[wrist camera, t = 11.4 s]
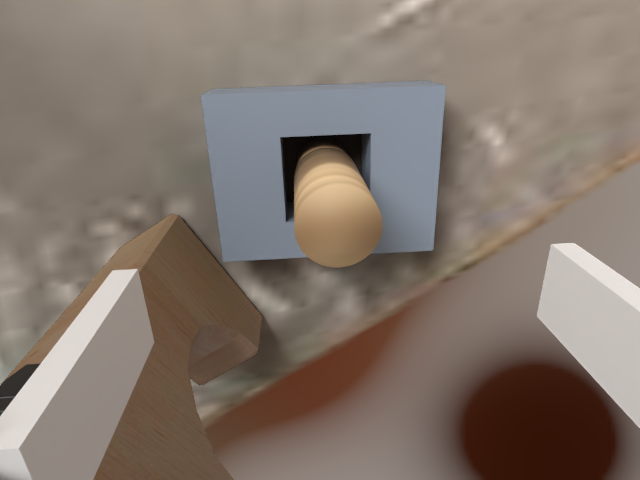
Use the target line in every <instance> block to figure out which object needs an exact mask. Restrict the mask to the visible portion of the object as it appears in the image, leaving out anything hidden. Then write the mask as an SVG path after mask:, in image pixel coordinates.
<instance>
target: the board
mask: <svg viewBox="0 0 640 480" xmlns="http://www.w3.org/2000/svg"><path fill="white" fill-rule="evenodd" d="M445 89H446V85H443V84H439V83H435V82H430V81H403V82H378V83H353V84H327V85H302V86H276V87H251V88H225V89H212V90H210V91H208V92H206V93H204V94H202V95H201V101H202V109H203V116H204V123H205V131H206V138H207V146H208V153H209V161H210V168H211V176H212V183H213V190H214V198H215V205H216V213H217V220H218V228H219V235H220V242H221V250H222V257H223V262H231V261H249V260H268V259H287V258H305V257H307V256H306V255H305V254H304V253H303V252H302V250H301V249H300V247H299V245H298V243H297V241H296V237H295V231H294V202H288V203H287V197H286V182H285V167H284V152H283V137H298V136H321V135H343V134H361V176H362V178H363V180H364V182H365V184H366V185H367V187H368V189H369V191H370V193H371V195H372V197H373V198H374V200H375V202H376V204H377V206H378V208H379V210H380V213H381V216H382V224H383V226H382V233H381V237H380V240H379V242H378V244H377V246H376V247H375V249H374V250H373V251H372V252H371V253H370V254H380V253H398V252H417V251H433V247H434V234H435V221H436V208H437V195H438V181H439V168H440V155H441V142H442V129H443V116H444V102H445Z"/></svg>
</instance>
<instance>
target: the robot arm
mask: <svg viewBox="0 0 640 480" xmlns="http://www.w3.org/2000/svg"><path fill="white" fill-rule="evenodd" d="M537 317H538V318H539V319H540V320H541V321H542V322H543V323H544V324H545V326H546V327H547V328H548V329H549V330H550V331H551V332H552V333H553V334H554V335H555V336H556V338H557V339H558V340H559V341H560V342H561V343H562V344H563V345H564V346H565V347H566V349H567V350H568V351H569V352H570V353H571V354H572V355H573V356H574V357H575V358H576V359H577V361H578V362H579V363H580V364H581V365H582V366H583V367H584V368H585V369H586V370H587V371H588V373H589V374H590V375H591V376H592V377H593V378H594V379H595V380H596V381H597V382H598V383H599V384H600V385H601V387H602V388H603V389H604V390H605V391H606V392H607V393H608V394H609V395H610V396H611V398H612V399H613V400H614V401H615V402H616V403H617V404H618V405H619V406H620V407H621V408H622V410H623V411H624V412H625V413H626V414H627V415H628V416H629V417H630V418H631V419H632V420H633V422H634V423H635V424H636V425H637V426H638V427H639V428H640V288H638V287H637V286H635V285H634V284H633V283H631V282H630V281H628V280H627V279H625V278H624V277H622V276H621V275H620V274H618V273H617V272H615V271H614V270H612V269H611V268H609V267H608V266H607V265H605V264H604V263H602V262H601V261H599V260H598V259H597V258H595V257H594V256H592V255H591V254H589V253H588V252H586V251H585V250H584V249H582V248H581V247H579V246H578V245H576V244H575V243H564V244H551V247H550V252H549V257H548V262H547V267H546V272H545V277H544V282H543V287H542V292H541V297H540V302H539V307H538V313H537ZM153 344H154V338H153V334H152V329H151V325H150V320H149V316H148V312H147V307H146V303H145V298H144V294H143V290H142V285H141V281H140V276H139V272H138V269H128V270H112V272H111V273H110V274H109V276H108V277H107V278H106V280H105V281H104V282H103V283H102V285H101V286H100V287H99V289H98V290H97V291H96V293H95V294H94V295H93V296H92V298H91V299H90V300H89V302H88V303H87V304H86V305H85V307H84V308H83V309H82V311H81V312H80V313H79V315H78V316H77V317H76V318H75V320H74V321H73V322H72V324H71V325H70V326H69V328H68V329H67V330H66V331H65V333H64V334H63V335H62V337H61V338H60V339H59V341H58V342H57V343H56V344H55V346H54V347H53V348H52V350H51V351H50V352H49V354H48V355H47V356H46V357H45V359H44V360H43V361H42V363H40V364H26V365H25V366H24V367H22V368H21V369H19V370H18V371H17V372H15V373H14V374H13V375H11V376H10V377H8V378H7V379H6V380H5V381H4V382H3V383H2V384H1V386H0V480H93V479H94V477H95V474H96V472H97V470H98V468H99V465H100V463H101V461H102V459H103V456H104V454H105V452H106V450H107V447H108V445H109V443H110V441H111V438H112V436H113V434H114V432H115V429H116V427H117V425H118V423H119V420H120V418H121V416H122V414H123V411H124V409H125V407H126V405H127V402H128V400H129V398H130V396H131V393H132V391H133V389H134V387H135V384H136V382H137V380H138V378H139V375H140V373H141V371H142V369H143V367H144V364H145V362H146V360H147V358H148V355H149V353H150V351H151V349H152V346H153Z"/></svg>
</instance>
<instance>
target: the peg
mask: <svg viewBox="0 0 640 480" xmlns="http://www.w3.org/2000/svg"><path fill="white" fill-rule="evenodd" d="M382 226H383V224H382V216H381V213H380V210H379V208H378V206H377V204H376V202H375V200H374V198H373V197H372V195H371V193H370V191H369V189H368V187H367V185H366V184H365V182H364V180H363V178H362V176H361V174H360V172H359V171H358V169H357V167H356V165H355V163H354V161H353V160H352V159H351V158H350V157H349V156H348V155H347V153H346V151H345V149H344V148H343V147H342V146H341V145H340V144H339V143H338V142H336V141H335V140H332V139H329V138H316V139H313V140H311V141H309V142H308V143H306V144H305V145H304V146H303V147H302V148H301V150H300V151H299V153H298V156H297V159H296V170H295V174H294V231H295V237H296V241H297V243H298V245H299V247H300V249H301V250H302V252H303V253H304V254H305V255H306V256H307V257H308V258H310V259H311V260H312V261H314V262H316V263H318V264H320V265H323V266H327V267H334V268H340V267H347V266H351V265H353V264H356V263H358V262H360V261H362V260H363V259H365V258H366V257H367V256H368V255H370V253H371V252H372V251H373V250H374V249H375V247H376V246H377V244H378V242H379V240H380V237H381V233H382Z"/></svg>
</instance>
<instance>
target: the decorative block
mask: <svg viewBox="0 0 640 480" xmlns="http://www.w3.org/2000/svg"><path fill="white" fill-rule="evenodd" d="M128 269H138V272H139V276H140V281H141V285H142V290H143V294H144V298H145V303H146V307H147V312H148V316H149V320H150V325H151V329H152V334H153V338H154V344H153V346H152V349H151V351H150V353H149V355H148V358H147V360H146V362H145V364H144V367H143V369H142V371H141V373H140V375H139V378H138V380H137V382H136V384H135V387H134V389H133V391H132V393H131V396H130V398H129V400H128V402H127V405H126V407H125V409H124V411H123V414H122V416H121V418H120V420H119V423H118V425H117V427H116V429H115V432H114V434H113V436H112V438H111V441H110V443H109V445H108V447H107V450H106V452H105V454H104V456H103V459H102V461H101V463H100V465H99V468H98V470H97V472H96V474H95V477H94V479H93V480H233V478H232V477H231V476H230V475H229V473H228V472H227V470H226V469H225V468H224V466H223V465H222V464H221V463H220V461H219V460H218V459H217V457H216V456H215V453H214V451H213V449H212V446H211V444H210V442H209V439H208V437H207V435H206V432H205V430H204V427H203V425H202V423H201V420H200V418H199V415H198V413H197V409H196V405H195V400H194V396H193V391H192V386H191V382H190V379H191V380H193V381H194V382H195V383H197V384H198V385H203V384H205V383H207V382H209V381H211V380H212V379H214V378H216V377H218V376H219V375H221V374H223V373H225V372H227V371H228V370H230V369H232V368H234V367H235V366H237V365H239V364H241V363H242V362H244V361H246V360H248V359H250V358H251V357H253V356H255V355H257V354H258V348H259V340H260V331H261V322H262V316H261V314H260V313H259V312H258V311H257V309H256V308H255V307H254V306H253V305H252V303H251V302H250V301H249V300H248V299H247V297H246V296H245V295H244V294H243V292H242V291H241V290H240V289H239V288H238V286H237V285H236V284H235V283H234V281H233V280H232V279H231V278H230V277H229V275H228V274H227V273H226V272H225V271H224V269H223V268H222V267H221V266H220V265H219V263H218V262H217V261H216V260H215V258H214V257H213V256H212V255H211V254H210V252H209V251H208V250H207V249H206V248H205V246H204V245H203V244H202V243H201V242H200V240H199V239H198V238H197V237H196V236H195V234H194V233H193V232H192V231H191V230H190V228H189V227H188V226H187V225H186V224H185V222H184V221H183V220H182V219H181V218H180V216H179V215H174V214H171V215H169V216H168V217H166V218H165V219H163V220H162V221H160V222H158V223H157V224H155V225H154V226H152V227H151V228H149V229H148V230H146V231H145V232H143V233H142V234H140V235H139V236H137V237H136V238H134V239H133V240H131V241H130V242H128V243H126V244H125V245H123V246H122V247H120V248H119V249H118V251H117V252H116V253H115V254H114V255H113V256H112V258H111V259H110V260H109V261H108V262H107V263H106V264H105V266H104V267H103V268H102V269H101V270H100V271H99V273H98V274H97V275H96V276H95V277H94V278H93V279H92V281H91V282H90V283H89V284H88V285H87V286H86V287H85V289H84V290H83V291H82V292H81V293H80V294H79V295H78V297H77V298H76V299H75V300H74V301H73V302H72V304H71V305H70V306H69V307H68V308H67V309H66V310H65V312H64V313H63V314H62V315H61V316H60V317H59V318H58V320H57V321H56V322H55V323H54V324H53V325H52V326H51V328H50V329H49V330H48V331H47V332H46V333H45V335H44V336H43V337H42V338H41V339H40V340H39V341H38V343H37V344H36V345H35V346H34V347H33V348H32V349H31V351H30V352H29V353H28V354H27V355H26V356H25V358H24V359H23V360H22V361H21V362H20V363H19V364H18V366H17V367H16V368H15V369H14V370H13V371H12V373H11V374H10V375H9V376H8V377H10V376H11V375H13V374H14V373H15V372H17V371H18V370H19V369H21V368H22V367H24V366H25V365H26V364H40V363H42V361H43V360H44V359H45V357H46V356H47V355H48V354H49V352H50V351H51V350H52V348H53V347H54V346H55V344H56V343H57V342H58V341H59V339H60V338H61V337H62V335H63V334H64V333H65V331H66V330H67V329H68V328H69V326H70V325H71V324H72V322H73V321H74V320H75V318H76V317H77V316H78V315H79V313H80V312H81V311H82V309H83V308H84V307H85V305H86V304H87V303H88V302H89V300H90V299H91V298H92V296H93V295H94V294H95V293H96V291H97V290H98V289H99V287H100V286H101V285H102V283H103V282H104V281H105V280H106V278H107V277H108V276H109V274H110V273H111V272H112V270H128ZM8 377H7V378H8ZM7 378H6V379H7ZM6 379H5V380H6ZM0 386H1V385H0Z"/></svg>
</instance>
